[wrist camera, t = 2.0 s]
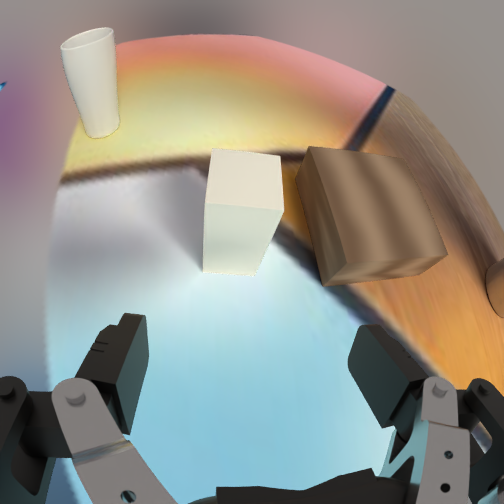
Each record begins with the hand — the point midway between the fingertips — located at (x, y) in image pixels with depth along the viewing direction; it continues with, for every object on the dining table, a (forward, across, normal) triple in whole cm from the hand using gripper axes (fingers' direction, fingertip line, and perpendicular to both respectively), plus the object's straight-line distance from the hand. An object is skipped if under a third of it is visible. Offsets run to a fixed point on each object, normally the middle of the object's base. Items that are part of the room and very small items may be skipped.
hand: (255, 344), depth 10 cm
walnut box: (+22, -16, 0) cm, 27 cm away
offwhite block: (+19, 0, +3) cm, 19 cm away
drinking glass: (+32, +19, -10) cm, 38 cm away
